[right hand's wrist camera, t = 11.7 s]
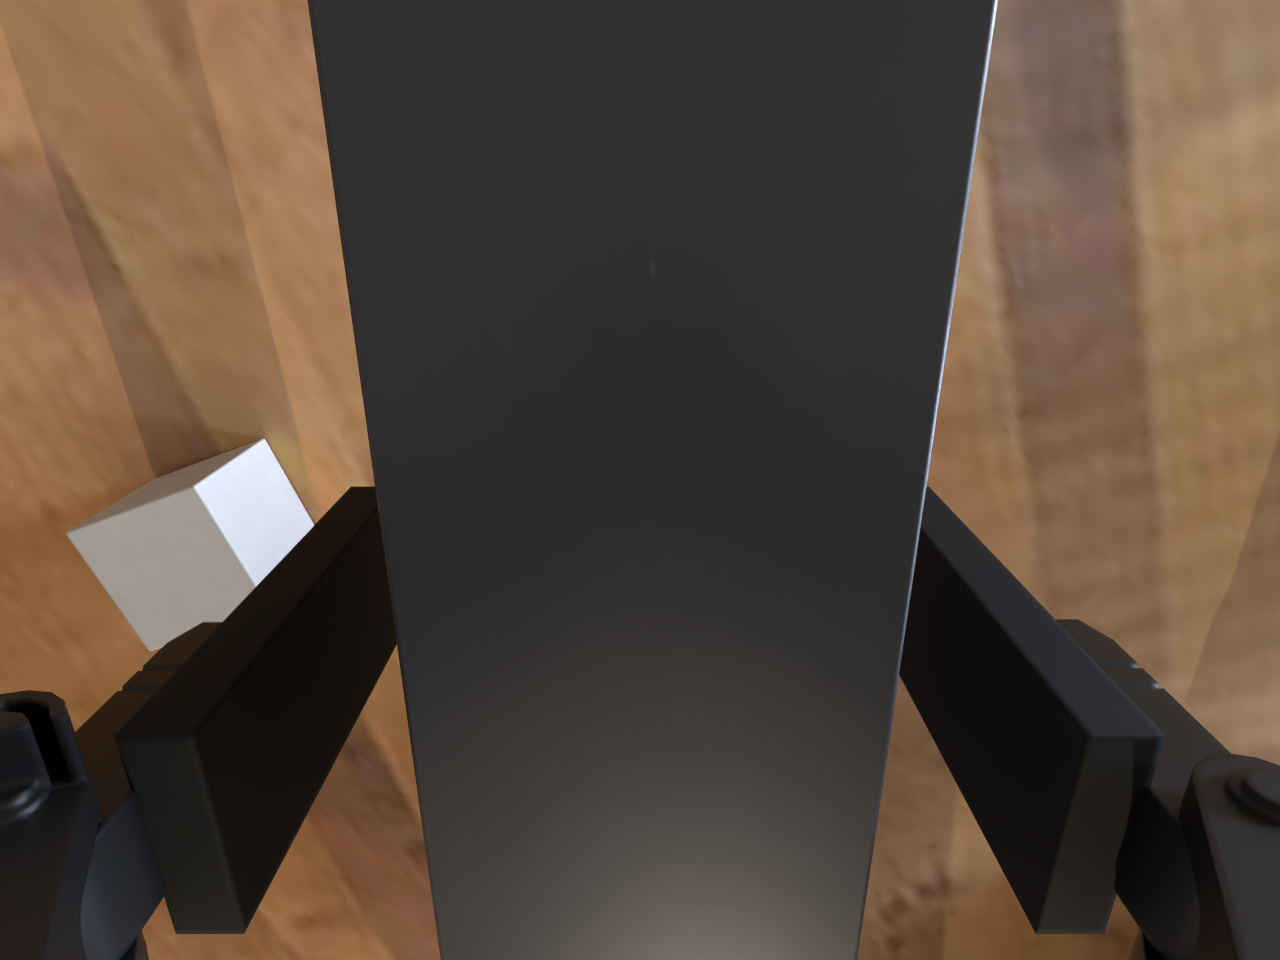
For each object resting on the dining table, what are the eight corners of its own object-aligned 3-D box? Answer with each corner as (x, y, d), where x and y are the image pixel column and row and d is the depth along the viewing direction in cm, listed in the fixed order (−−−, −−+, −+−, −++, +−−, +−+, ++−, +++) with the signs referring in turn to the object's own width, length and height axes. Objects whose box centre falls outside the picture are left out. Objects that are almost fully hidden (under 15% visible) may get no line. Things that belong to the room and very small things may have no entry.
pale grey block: (264, 437, 29) (193, 485, 25) (327, 546, 31) (272, 610, 26) (153, 478, 30) (64, 533, 25) (220, 583, 32) (148, 652, 27)
